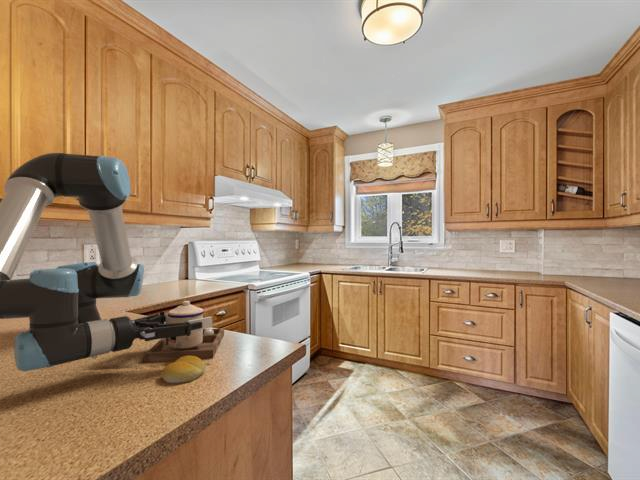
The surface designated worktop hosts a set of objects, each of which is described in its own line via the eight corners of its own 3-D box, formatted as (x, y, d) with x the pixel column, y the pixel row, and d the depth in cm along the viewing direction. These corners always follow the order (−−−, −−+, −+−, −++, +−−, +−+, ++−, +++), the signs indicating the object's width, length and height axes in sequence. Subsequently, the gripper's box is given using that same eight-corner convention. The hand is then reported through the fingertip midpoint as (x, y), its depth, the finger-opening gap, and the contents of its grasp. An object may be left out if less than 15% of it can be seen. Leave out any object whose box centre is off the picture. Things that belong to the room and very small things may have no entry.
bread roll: (153, 383, 68) (153, 364, 69) (181, 367, 77) (181, 350, 77) (187, 387, 66) (187, 368, 67) (211, 370, 75) (211, 353, 75)
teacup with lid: (165, 342, 88) (165, 300, 89) (200, 337, 93) (200, 297, 93) (170, 355, 78) (170, 307, 78) (208, 349, 83) (209, 304, 83)
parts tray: (170, 340, 98) (170, 330, 98) (224, 337, 101) (224, 328, 101) (144, 366, 77) (144, 353, 77) (213, 361, 80) (213, 349, 80)
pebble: (204, 337, 98) (204, 327, 98) (214, 336, 98) (214, 327, 98) (202, 340, 95) (202, 330, 95) (213, 339, 95) (213, 329, 95)
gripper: (93, 341, 80) (179, 324, 96) (129, 365, 64) (223, 340, 81) (93, 311, 80) (179, 300, 96) (129, 327, 64) (223, 310, 81)
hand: (199, 318), depth 89 cm, fingers closed on teacup with lid, 11 cm apart
